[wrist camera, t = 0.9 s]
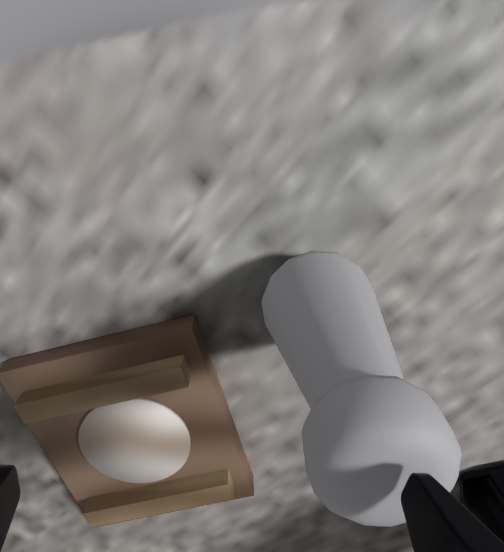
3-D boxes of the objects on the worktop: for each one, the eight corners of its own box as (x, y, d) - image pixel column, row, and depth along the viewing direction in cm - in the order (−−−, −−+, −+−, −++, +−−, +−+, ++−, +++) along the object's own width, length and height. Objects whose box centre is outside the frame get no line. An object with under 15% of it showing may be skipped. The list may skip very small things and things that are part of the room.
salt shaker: (278, 341, 23) (316, 580, 11) (245, 260, 21) (247, 446, 9) (370, 310, 22) (517, 529, 10) (345, 223, 20) (492, 372, 8)
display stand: (253, 476, 28) (254, 512, 25) (100, 507, 28) (86, 544, 26) (194, 314, 22) (188, 338, 20) (9, 359, 23) (-19, 387, 21)
